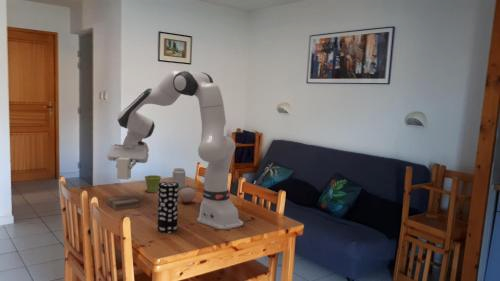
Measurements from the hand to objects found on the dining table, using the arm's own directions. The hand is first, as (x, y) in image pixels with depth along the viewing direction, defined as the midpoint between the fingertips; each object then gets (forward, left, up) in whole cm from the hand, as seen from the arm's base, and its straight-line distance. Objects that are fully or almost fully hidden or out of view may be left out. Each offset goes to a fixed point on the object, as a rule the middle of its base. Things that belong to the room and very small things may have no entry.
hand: (123, 167), depth 201 cm
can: (+18, -42, -20) cm, 50 cm away
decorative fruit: (-12, -30, -20) cm, 38 cm away
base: (0, 0, -19) cm, 19 cm away
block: (0, 0, -5) cm, 5 cm away
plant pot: (+18, -25, -20) cm, 37 cm away
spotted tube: (-42, -2, -20) cm, 46 cm away
